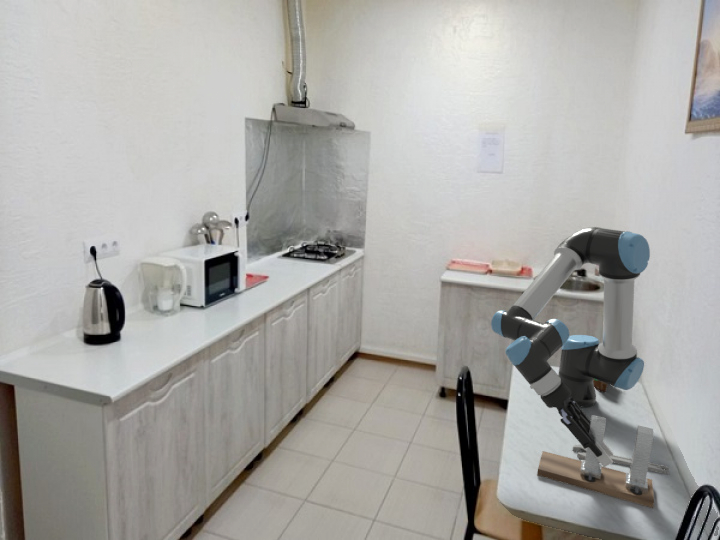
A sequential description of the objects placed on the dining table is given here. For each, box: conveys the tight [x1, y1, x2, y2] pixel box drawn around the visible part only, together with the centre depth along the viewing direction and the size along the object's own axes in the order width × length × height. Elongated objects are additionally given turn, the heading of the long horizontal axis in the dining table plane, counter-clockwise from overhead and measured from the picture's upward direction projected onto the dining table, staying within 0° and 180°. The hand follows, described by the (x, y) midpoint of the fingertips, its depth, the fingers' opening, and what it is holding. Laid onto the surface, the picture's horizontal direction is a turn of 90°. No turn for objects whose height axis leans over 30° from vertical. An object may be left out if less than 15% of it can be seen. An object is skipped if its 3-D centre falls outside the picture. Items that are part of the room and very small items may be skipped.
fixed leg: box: [625, 424, 655, 493], centre depth 136 cm, size 7×5×16 cm
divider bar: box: [536, 450, 655, 509], centre depth 143 cm, size 10×28×2 cm, turn 64°
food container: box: [593, 378, 609, 393], centre depth 201 cm, size 12×6×10 cm, turn 149°
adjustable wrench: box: [572, 444, 670, 475], centre depth 151 cm, size 25×6×2 cm, turn 66°
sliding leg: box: [580, 414, 607, 480], centre depth 140 cm, size 7×5×16 cm
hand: (608, 459), depth 140 cm, fingers closed on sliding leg, 3 cm apart
